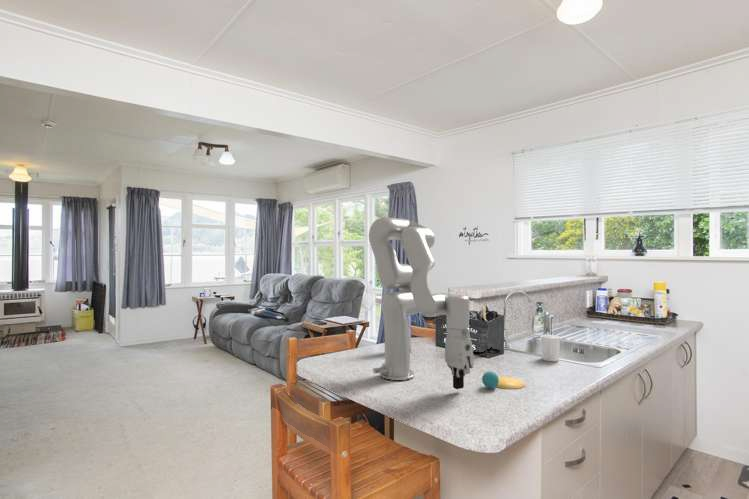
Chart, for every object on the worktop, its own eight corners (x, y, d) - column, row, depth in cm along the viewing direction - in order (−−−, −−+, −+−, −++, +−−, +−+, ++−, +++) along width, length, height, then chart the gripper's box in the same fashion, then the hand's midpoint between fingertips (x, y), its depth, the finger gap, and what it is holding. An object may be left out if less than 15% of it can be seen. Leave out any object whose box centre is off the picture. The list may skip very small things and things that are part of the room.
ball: (497, 392, 139) (486, 384, 138) (486, 389, 144) (476, 381, 143) (504, 378, 141) (494, 369, 140) (493, 375, 146) (483, 367, 145)
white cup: (548, 362, 173) (548, 338, 174) (536, 357, 181) (536, 335, 181) (564, 361, 176) (564, 337, 176) (551, 356, 183) (551, 333, 183)
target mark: (505, 391, 138) (505, 390, 138) (479, 380, 150) (479, 380, 150) (533, 385, 144) (533, 384, 144) (506, 375, 156) (506, 375, 156)
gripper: (482, 335, 133) (482, 393, 133) (453, 328, 146) (453, 380, 146) (463, 338, 129) (463, 396, 129) (435, 330, 143) (436, 383, 143)
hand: (458, 387), depth 138 cm, fingers closed
